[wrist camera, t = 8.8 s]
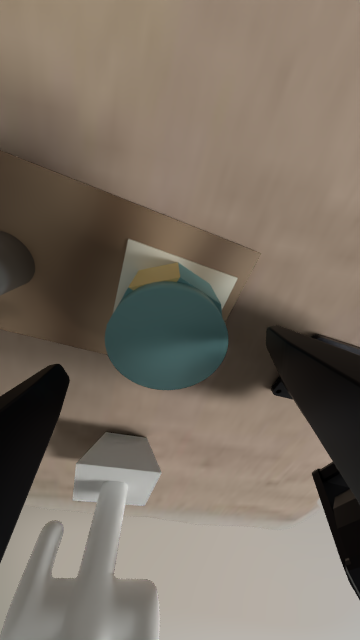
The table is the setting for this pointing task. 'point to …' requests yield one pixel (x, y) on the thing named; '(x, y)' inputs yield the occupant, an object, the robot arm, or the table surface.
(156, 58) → the table surface
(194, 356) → the cap
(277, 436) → the table surface
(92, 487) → the figurine
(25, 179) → the board
